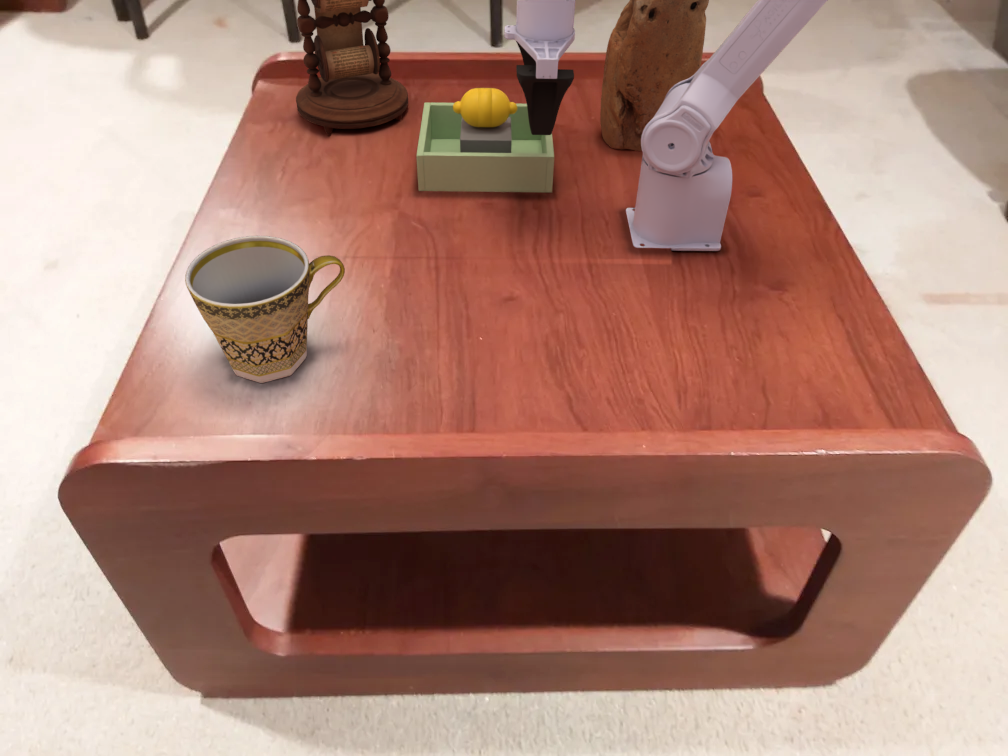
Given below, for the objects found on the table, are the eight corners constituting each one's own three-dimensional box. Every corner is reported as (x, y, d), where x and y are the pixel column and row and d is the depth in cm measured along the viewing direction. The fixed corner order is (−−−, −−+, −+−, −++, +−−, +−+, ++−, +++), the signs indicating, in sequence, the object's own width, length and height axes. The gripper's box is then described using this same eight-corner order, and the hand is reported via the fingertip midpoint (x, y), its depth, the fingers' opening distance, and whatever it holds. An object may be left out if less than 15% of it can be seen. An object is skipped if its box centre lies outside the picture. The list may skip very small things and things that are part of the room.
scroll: (389, 83, 118) (377, -70, 104) (424, 127, 108) (415, -35, 95) (287, 100, 114) (260, -58, 100) (314, 147, 104) (288, -20, 90)
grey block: (510, 150, 103) (511, 117, 100) (510, 175, 98) (511, 140, 95) (462, 150, 103) (461, 116, 100) (460, 174, 98) (460, 139, 95)
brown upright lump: (669, 125, 110) (695, -35, 96) (691, 151, 105) (722, -14, 91) (592, 132, 108) (607, -30, 94) (610, 159, 103) (629, -8, 89)
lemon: (516, 125, 99) (517, 87, 98) (517, 129, 95) (518, 89, 94) (453, 124, 99) (453, 86, 98) (452, 129, 95) (451, 89, 93)
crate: (547, 141, 106) (549, 103, 102) (551, 196, 96) (554, 156, 93) (426, 140, 106) (424, 102, 102) (418, 195, 96) (416, 155, 92)
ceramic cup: (222, 409, 70) (194, 318, 63) (204, 339, 77) (176, 249, 70) (369, 369, 74) (357, 279, 67) (340, 306, 80) (326, 218, 74)
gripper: (505, -42, 84) (502, 87, 93) (506, 9, 73) (502, 148, 83) (573, -41, 84) (564, 88, 93) (584, 10, 74) (572, 149, 83)
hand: (539, 116), depth 88 cm, fingers open, 7 cm apart
